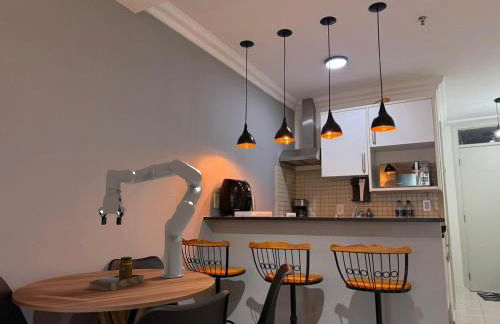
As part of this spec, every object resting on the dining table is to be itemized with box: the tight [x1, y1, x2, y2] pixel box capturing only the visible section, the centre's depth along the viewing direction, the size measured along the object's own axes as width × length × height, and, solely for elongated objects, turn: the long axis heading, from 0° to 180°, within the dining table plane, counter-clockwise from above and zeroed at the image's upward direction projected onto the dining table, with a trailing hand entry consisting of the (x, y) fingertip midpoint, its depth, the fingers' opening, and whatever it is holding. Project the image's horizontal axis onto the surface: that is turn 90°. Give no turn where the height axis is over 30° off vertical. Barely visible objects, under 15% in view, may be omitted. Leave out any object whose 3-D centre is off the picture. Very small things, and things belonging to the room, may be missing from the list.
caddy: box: [88, 274, 145, 291], centre depth 168 cm, size 22×13×4 cm, turn 161°
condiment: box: [118, 256, 133, 279], centre depth 173 cm, size 7×8×12 cm
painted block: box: [98, 276, 119, 283], centre depth 163 cm, size 4×8×4 cm, turn 71°
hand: (111, 224), depth 190 cm, fingers open, 9 cm apart
